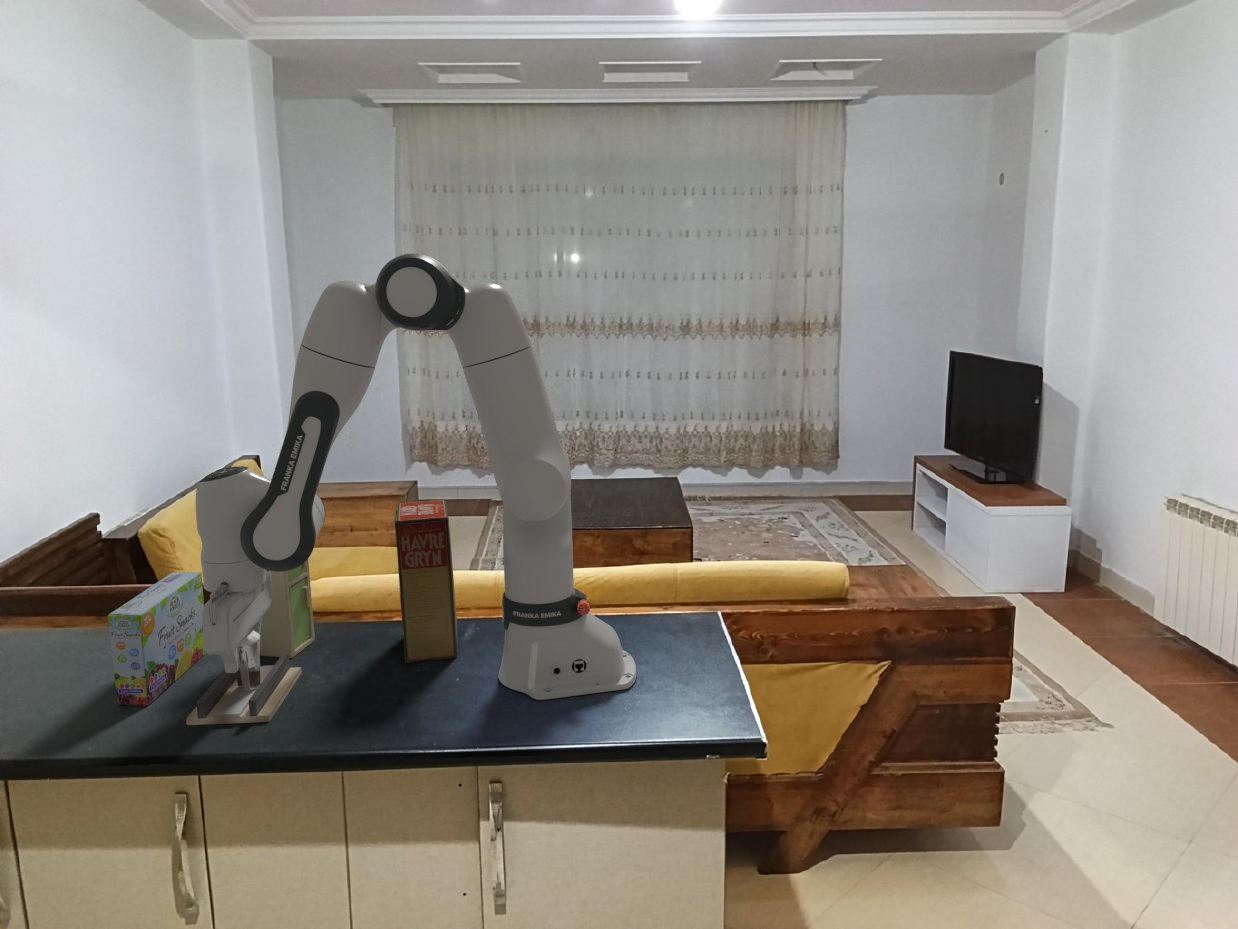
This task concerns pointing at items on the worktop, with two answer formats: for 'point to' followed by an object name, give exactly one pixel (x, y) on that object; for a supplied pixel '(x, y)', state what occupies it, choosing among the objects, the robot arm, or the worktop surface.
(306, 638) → the toy refrigerator
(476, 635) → the worktop surface
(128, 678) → the snack box
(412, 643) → the food packaging
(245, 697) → the rail plate
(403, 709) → the worktop surface
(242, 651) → the milkshake
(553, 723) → the worktop surface
